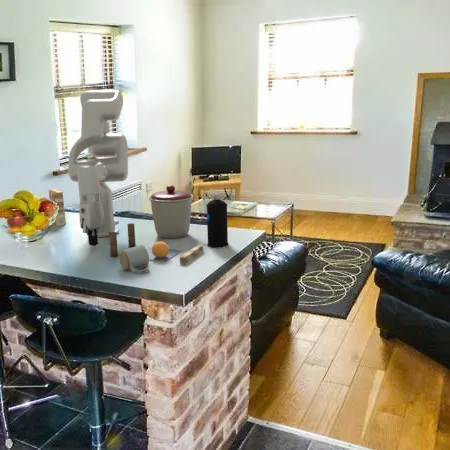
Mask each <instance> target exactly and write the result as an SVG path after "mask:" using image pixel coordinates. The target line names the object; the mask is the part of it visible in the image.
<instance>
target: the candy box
mask: <svg viewBox="0 0 450 450" xmlns="http://www.w3.org/2000/svg"><path fill="white" fill-rule="evenodd" d="M48 197H49V198H48V199H49V201H50V200H52V201H54V202H55V203H57V204H58V205H59V210H58V214H57V216H56V220H55V222H54V223H53V224H54V225H56V227H59V226H60V227H61V226H65V225H67V221H66V220H67V219H66V211H65V202H64V193H63V191H61V190H59V189H58V188H57V189H49V190H48Z"/></svg>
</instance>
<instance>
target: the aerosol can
mask: <svg viewBox="0 0 450 450" xmlns="http://www.w3.org/2000/svg"><path fill="white" fill-rule="evenodd" d="M205 206H206V225H207V227H206V228H207V230H206V231H207V244H206V245H207V247H209V248H214V249H219V248H220V249H221V248H225V247H228V246H229V242H228V241H229V239H228V238H229V237H228V234H229V233H228V203H227V202H226V201H224V200H223V199H220V193H213V199H212V200H210V201H208V202H207V204H205Z"/></svg>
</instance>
